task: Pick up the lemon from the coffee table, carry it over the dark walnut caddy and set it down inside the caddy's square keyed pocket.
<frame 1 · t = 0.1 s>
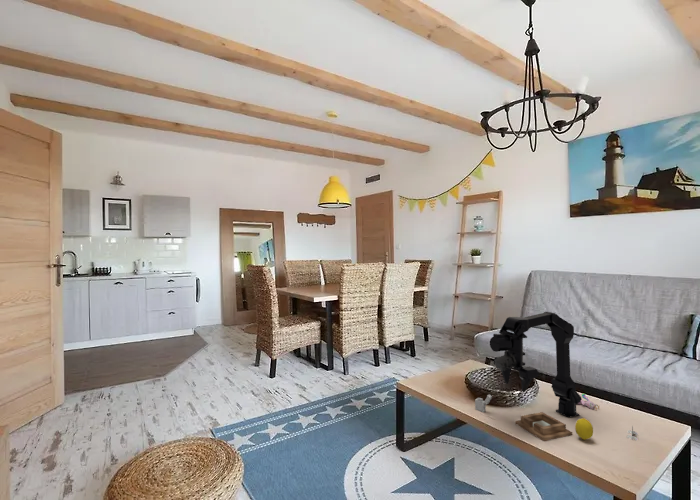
hand: (514, 387, 145), 15 cm above the table, fingers open, 9 cm apart
caddy: (542, 429, 141), on the table
car cutout: (633, 434, 138), on the table
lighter: (483, 411, 156), on the table
lemon: (584, 440, 133), on the table
unicorn toy: (579, 404, 164), on the table
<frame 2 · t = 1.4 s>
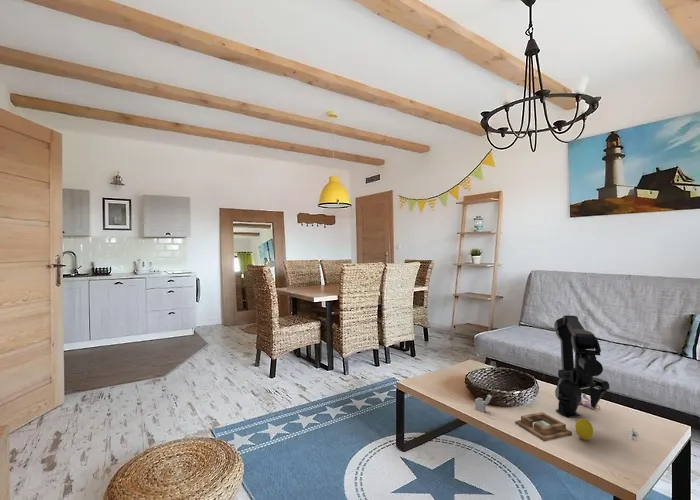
hand: (583, 409, 133), 11 cm above the table, fingers open, 9 cm apart
nothing on the table moved.
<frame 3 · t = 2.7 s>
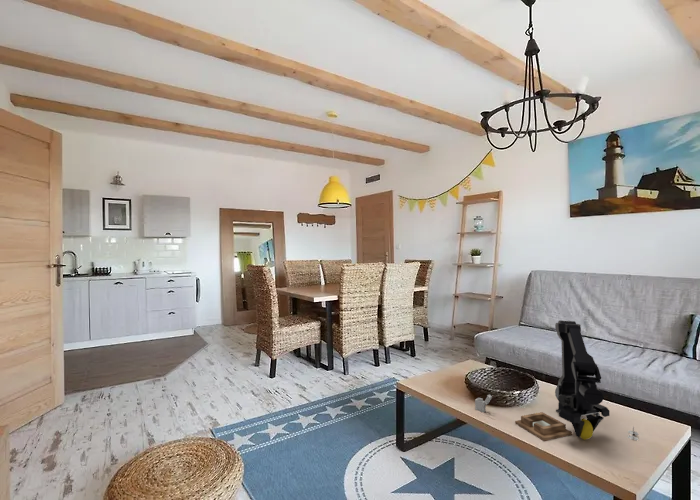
hand: (584, 435, 133), 2 cm above the table, fingers closed on lemon, 5 cm apart
lemon: (584, 440, 133), on the table, touching gripper
everything else where it was.
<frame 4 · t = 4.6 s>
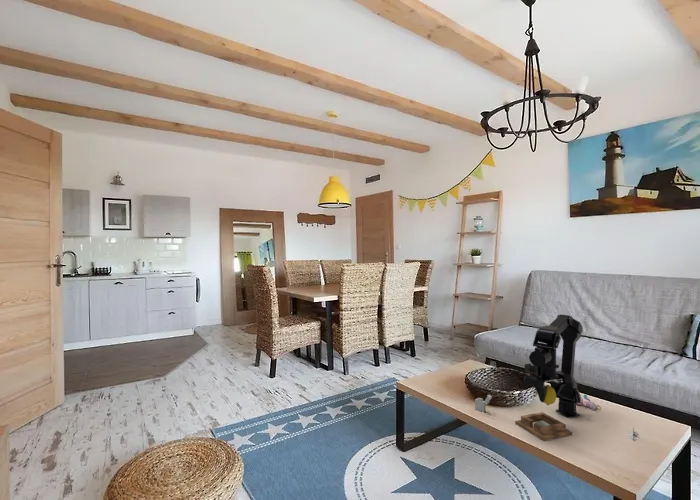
hand: (547, 401, 140), 11 cm above the table, fingers closed on lemon, 5 cm apart
lemon: (547, 405, 140), point 10 cm above the table, touching gripper
everything else where it was.
when the fingers open (4 cm above the table, at t = 6.4 s): lemon drops 2 cm, resting on caddy.
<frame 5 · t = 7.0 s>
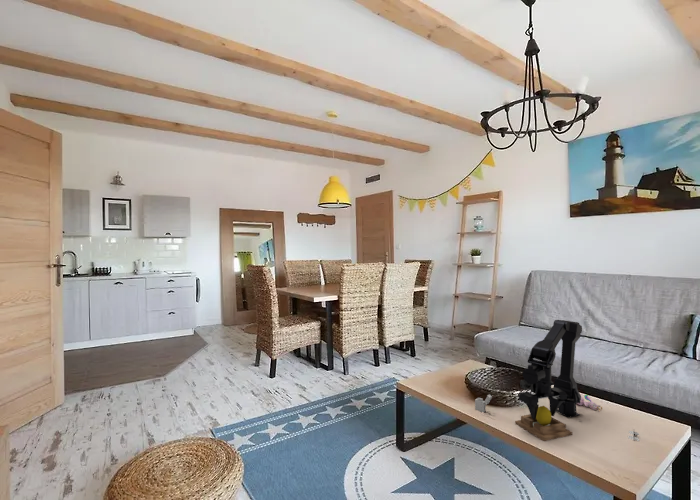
hand: (542, 417, 141), 4 cm above the table, fingers open, 9 cm apart
lemon: (543, 426, 141), point 1 cm above the table, touching caddy
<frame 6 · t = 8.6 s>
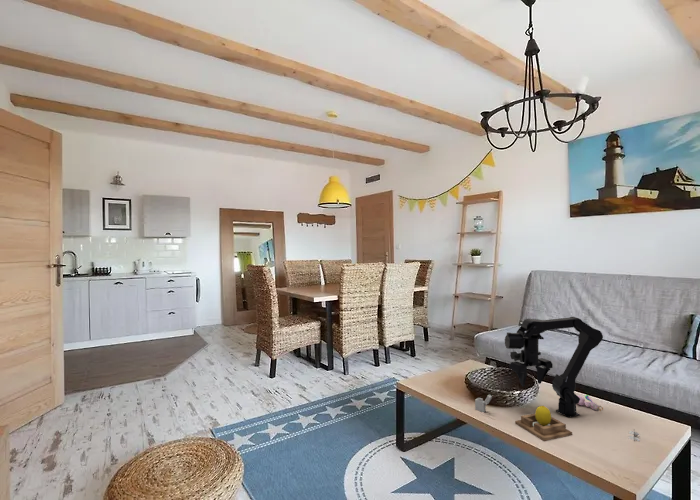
hand: (531, 384, 155), 12 cm above the table, fingers open, 9 cm apart
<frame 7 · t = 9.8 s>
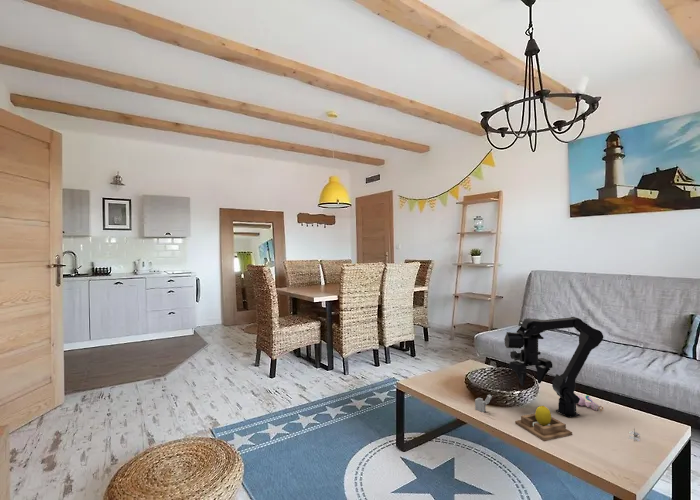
hand: (530, 384, 155), 12 cm above the table, fingers open, 9 cm apart
at the end: lemon inside the target area on the caddy (0.1 cm from its centre), point 1.0 cm above the caddy's base; the gripper is holding nothing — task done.
